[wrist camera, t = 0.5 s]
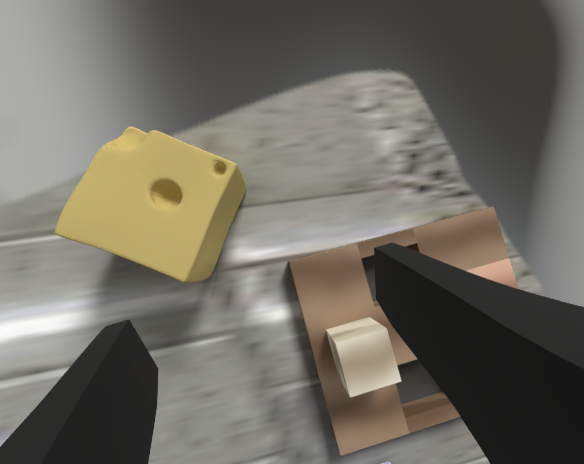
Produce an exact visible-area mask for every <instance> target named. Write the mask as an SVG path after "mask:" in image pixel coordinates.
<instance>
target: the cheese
mask: <svg viewBox="0 0 584 464" xmlns="http://www.w3.org/2000/svg"><path fill="white" fill-rule="evenodd" d="M245 193H246V184H245V181H244V179H243V177H242V174H241V171H240V169H239V168H238V166H237V165H236V164H235V163H234V162H231V161H229V160H226V159H224V158H222V157H219V156H217V155H214V154H211V153H209V152H206V151H204V150H202V149H199V148H197V147H194V146H192V145H189V144H187V143H184V142H182V141H179V140H177V139H175V138H173V137H170V136H168V135H166V134H164V133H162V132H159V131H156V130H153V131H150V132H149V133H148V134H147V133H145V132H143V131H141V130H139V129H137V128H135V127H128V128H127V129H126V130H125V132H124V133H123V134H122V135H121V136H120V137H119V138H118V139H116V140H113V141H110V142H108V143H106V144H105V145H104V146H103V147H102V148H101V149H100V150H99V151H98V153H97V154H96V155H95V157H94V159H93V161H92V163H91V164H90V166H89V168H88V169H87V171H86V173H85V174H84V176H83V178H82V179H81V181H80V182H79V184H78V186H77V187H76V189H75V191H74V192H73V194H72V195H71V197H70V199H69V200H68V202H67V204H66V205H65V207H64V209H63V211H62V213H61V215H60V218H59V220H58V223H57V226H56V229H55V234H56V235H58V236H61V237H64V238H67V239H70V240H73V241H77V242H80V243H83V244H87V245H90V246H93V247H96V248H99V249H102V250H105V251H108V252H111V253H113V254H116V255H119V256H121V257H124V258H126V259H128V260H131V261H133V262H136V263H138V264H140V265H143V266H145V267H148V268H150V269H153V270H155V271H158V272H160V273H163V274H165V275H167V276H170V277H172V278H175V279H177V280H179V281H182V282H198V281H202V280H205V279H207V278H209V277H210V276H211V274H212V272H213V270H214V268H215V266H216V263H217V261H218V258H219V255H220V252H221V249H222V247H223V244H224V241H225V239H226V236H227V233H228V231H229V228H230V226H231V223H232V221H233V219H234V216H235V214H236V212H237V210H238V208H239V206H240V203H241V201H242V199H243V197H244V195H245Z"/></svg>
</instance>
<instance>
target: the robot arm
mask: <svg viewBox="0 0 584 464" xmlns="http://www.w3.org/2000/svg"><path fill="white" fill-rule="evenodd" d="M374 262H375V291H376V300H377V302H378V303H379V305H380V307H381V309H382V310H383V312H384V314H385V315H386V317H387V319H388V320H389V322H390V323H391V325H392V327H393V328H394V329H395V331H396V332H397V333H398V335H399V336H400V337H401V338H402V340H403V341H404V342H405V344H406V345H407V346H408V347H409V349H410V350H411V351H412V353H413V354H414V355H415V356H416V358H417V359H418V360H419V361H420V363H421V364H422V365H423V367H424V368H425V369H426V370H427V372H428V373H429V374H430V375H431V377H432V378H433V379H434V381H435V382H436V383H437V384H438V386H439V387H440V388H441V389H442V391H443V392H444V394H445V395H446V396H447V398H448V399H449V400H450V402H451V403H452V405H453V406H454V407H455V409H456V410H457V412H458V414H459V415H460V417H461V418H462V420H463V421H464V423H465V424H466V426H467V427H468V429H469V430H470V432H471V434H472V435H473V437H474V438H475V440H476V441H477V443H478V444H479V446H480V448H481V449H482V451H483V452H484V454H485V456H486V457H487V459H488V460H489V462H490V464H584V307H581V306H577V305H573V304H569V303H565V302H561V301H558V300H554V299H551V298H547V297H544V296H540V295H536V294H533V293H529V292H526V291H523V290H520V289H516V288H513V287H510V286H507V285H504V284H501V283H498V282H495V281H492V280H490V279H487V278H484V277H481V276H478V275H475V274H473V273H470V272H467V271H465V270H462V269H459V268H457V267H454V266H452V265H449V264H447V263H444V262H442V261H439V260H437V259H434V258H432V257H429V256H427V255H424V254H422V253H419V252H417V251H414V250H412V249H409V248H407V247H404V246H401V245H399V244H396V243H393V242H392V243H388V244H385V245H382V246H378V247H375V248H374ZM157 394H158V367H157V366H156V364H155V362H154V361H153V359H152V357H151V356H150V354H149V352H148V350H147V349H146V347H145V345H144V344H143V342H142V340H141V339H140V337H139V335H138V334H137V332H136V330H135V328H134V327H133V325H132V323H131V322H130V320H126V321H123V322H119V323H116V324H112V325H109V326H106V327H105V328H104V329H103V330H102V331H101V332H100V333H99V334H98V335H97V336H96V338H95V339H94V340H93V341H92V342H91V343H90V344H89V346H88V347H87V348H86V349H85V350H84V352H83V353H82V354H81V355H80V356H79V357H78V359H77V360H76V361H75V362H74V363H73V365H72V366H71V367H70V368H69V369H68V371H67V372H66V373H65V374H64V375H63V376H62V378H61V379H60V380H59V381H58V382H57V383H56V385H55V386H54V387H53V388H52V389H51V391H50V392H49V393H48V394H47V395H46V396H45V398H44V399H43V400H42V401H41V402H40V403H39V405H38V406H37V407H36V408H35V409H34V410H33V411H32V412H31V413H30V415H29V416H28V417H27V418H26V419H25V420H24V421H23V422H22V423H21V425H20V426H19V427H18V428H17V429H16V430H15V431H14V432H13V433H12V434H11V436H10V437H9V438H8V439H7V440H6V441H5V442H4V443H3V444H2V446H1V447H0V464H148V461H149V454H150V448H151V442H152V436H153V429H154V423H155V416H156V409H157ZM381 464H391V463H390V462H384V463H381Z"/></svg>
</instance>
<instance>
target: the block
mask: <svg viewBox="0 0 584 464" xmlns="http://www.w3.org/2000/svg"><path fill="white" fill-rule="evenodd" d="M326 332H327V336H328V339H329V343H330V347H331V351H332V354H333V358H334V362H335V366H336V369H337V373H338V376H339V378H340V380H341V382H342V383H343V385H344V387H345V389H346V391H347V393H348V395H349V396H350V397H354V396H357V395H360V394H363V393H366V392H369V391H373V390H376V389H379V388H382V387H385V386H389V385H392V384H395V383H398V382H401V378H400V374H399V371H398V367H397V363H396V360H395V356H394V352H393V349H392V345H391V342H390V338H389V334H388V331H387V328H386V327H384V326H383V325H381V324H380V323H378V322H377V321H375V320H373V319H372V318H370V317H367V318H364V319H360V320H357V321H354V322H350V323H347V324H343V325H340V326H337V327H333V328H330V329H326Z"/></svg>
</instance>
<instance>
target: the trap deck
mask: <svg viewBox="0 0 584 464" xmlns="http://www.w3.org/2000/svg"><path fill="white" fill-rule="evenodd" d="M392 242H393V243H396V244H399V245H401V246H404V247H407V248H409V249H412V250H414V251H417V252H419V253H422V254H424V255H427V256H429V257H432V258H434V259H437V260H439V261H442V262H444V263H447V264H449V265H452V266H454V267H457V268H459V269H462V270H465V271H467V272H470V273H473V274H475V275H478V276H481V277H484V278H487V279H490V280H492V281H495V282H498V283H501V284H504V285H507V286H510V287H513V288H516V289H518V286H517V283H516V279H515V276H514V273H513V269H512V266H511V263H510V259H509V256H508V253H507V250H506V246H505V243H504V240H503V236H502V233H501V230H500V226H499V223H498V220H497V216H496V213H495V210H494V207H490V208H485V209H481V210H476V211H472V212H469V213H465V214H461V215H458V216H454V217H450V218H446V219H443V220H439V221H435V222H432V223H428V224H424V225H421V226H417V227H413V228H409V229H406V230H402V231H398V232H395V233H391V234H387V235H384V236H380V237H376V238H372V239H369V240H365V241H361V242H358V243H354V244H350V245H347V246H343V247H339V248H335V249H332V250H328V251H324V252H321V253H317V254H313V255H310V256H306V257H302V258H298V259H295V260H291V261H288V263H289V267H290V271H291V274H292V278H293V282H294V286H295V289H296V293H297V297H298V301H299V305H300V308H301V312H302V316H303V320H304V323H305V327H306V331H307V335H308V339H309V342H310V346H311V350H312V354H313V357H314V361H315V365H316V369H317V373H318V376H319V380H320V384H321V388H322V391H323V395H324V399H325V403H326V407H327V410H328V414H329V418H330V422H331V426H332V429H333V433H334V437H335V440H336V443H337V446H338V449H339V452H340V455H341V456H342V455H345V454H348V453H351V452H354V451H357V450H361V449H364V448H367V447H370V446H373V445H376V444H379V443H382V442H385V441H388V440H391V439H394V438H397V437H400V436H403V435H406V434H409V433H412V432H415V431H418V430H421V429H424V428H427V427H430V426H433V425H436V424H439V423H443V422H446V421H449V420H452V419H455V418H458V417H460V415H459V414H458V412H457V410H456V409H455V407H454V406H453V405H452V403H451V402H450V400H449V399H448V398H447V396H446V395H445V394H444V392H443V391H442V389H441V388H440V387H439V386H438V384H437V383H436V382H435V381H434V379H433V378H432V377H431V375H430V374H429V373H428V372H427V370H426V369H425V368H424V367H423V365H422V364H421V363H420V361H419V360H418V359H417V358H416V356H415V355H414V354H413V353H412V351H411V350H410V349H409V347H408V346H407V345H406V344H405V342H404V341H403V340H402V338H401V337H400V336H399V335H398V333H397V332H396V331H395V329H394V328H393V327H392V325H391V323H390V322H389V320H388V319H387V317H386V315H385V314H384V312H383V310H382V309H381V307H380V305H379V303H378V302H377V300H376V291H375V262H374V248H375V247H378V246H382V245H385V244H388V243H392ZM367 317H370V318H372V319H373V320H375V321H377V322H378V323H380V324H381V325H383V326H384V327H386V328H387V331H388V334H389V338H390V342H391V345H392V349H393V352H394V356H395V360H396V363H397V367H398V371H399V374H400V378H401V382H398V383H395V384H392V385H389V386H385V387H382V388H379V389H376V390H373V391H369V392H366V393H363V394H360V395H357V396H354V397H350V396H349V395H348V393H347V391H346V389H345V387H344V385H343V383H342V382H341V380H340V378H339V376H338V373H337V369H336V366H335V362H334V358H333V354H332V351H331V347H330V343H329V339H328V336H327V332H326V329H330V328H333V327H337V326H340V325H343V324H347V323H350V322H354V321H357V320H360V319H364V318H367Z"/></svg>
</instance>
